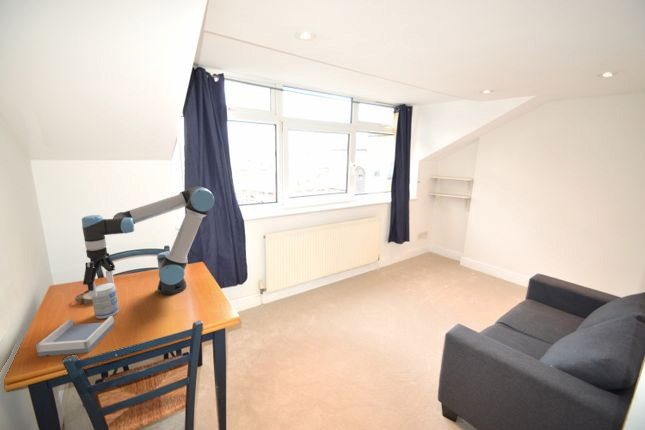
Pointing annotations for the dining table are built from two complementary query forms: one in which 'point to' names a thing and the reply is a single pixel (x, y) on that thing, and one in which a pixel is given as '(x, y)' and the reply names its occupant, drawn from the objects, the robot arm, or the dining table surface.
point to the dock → (74, 338)
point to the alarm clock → (84, 298)
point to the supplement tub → (105, 301)
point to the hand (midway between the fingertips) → (102, 289)
